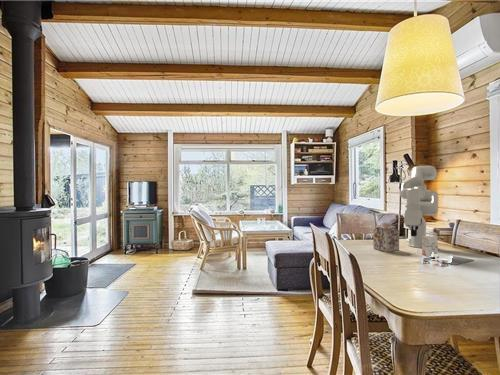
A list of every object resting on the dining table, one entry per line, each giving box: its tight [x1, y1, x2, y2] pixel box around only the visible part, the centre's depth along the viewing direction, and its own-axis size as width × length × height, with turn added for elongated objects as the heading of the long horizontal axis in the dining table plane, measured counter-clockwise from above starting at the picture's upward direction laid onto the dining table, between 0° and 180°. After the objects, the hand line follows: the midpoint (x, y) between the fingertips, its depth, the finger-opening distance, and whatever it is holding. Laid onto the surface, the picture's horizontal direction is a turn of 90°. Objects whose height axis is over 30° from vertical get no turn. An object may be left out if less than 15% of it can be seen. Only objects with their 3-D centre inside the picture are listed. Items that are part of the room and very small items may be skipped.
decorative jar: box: [372, 222, 400, 253], centre depth 196 cm, size 12×12×18 cm
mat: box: [449, 255, 475, 266], centre depth 167 cm, size 14×20×1 cm
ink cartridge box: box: [421, 230, 439, 257], centre depth 177 cm, size 9×5×15 cm, turn 179°
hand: (413, 236), depth 186 cm, fingers closed
